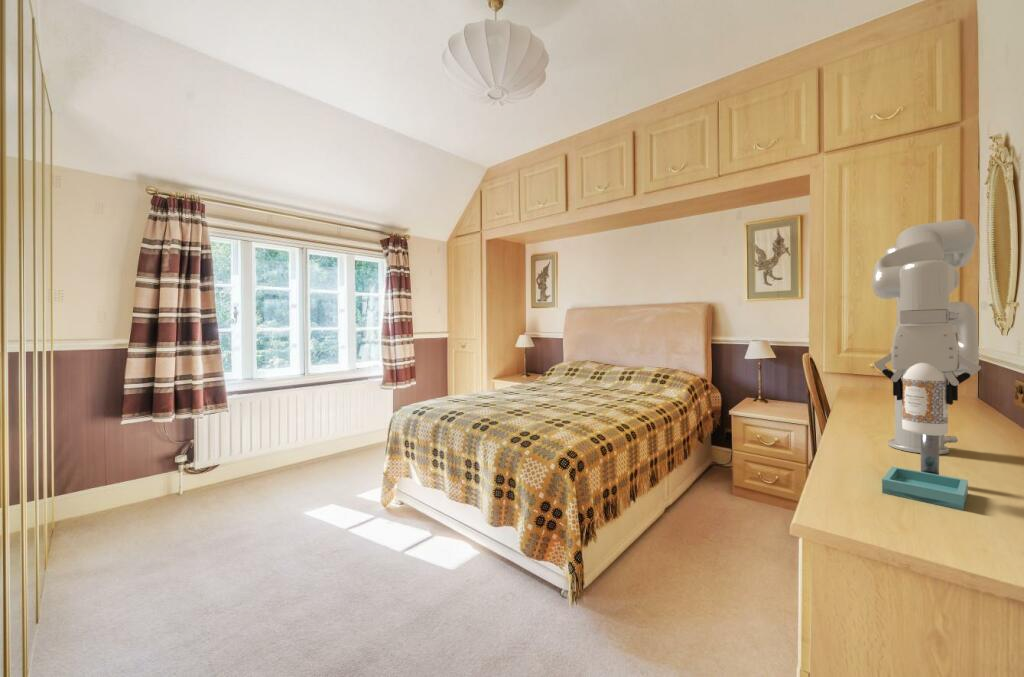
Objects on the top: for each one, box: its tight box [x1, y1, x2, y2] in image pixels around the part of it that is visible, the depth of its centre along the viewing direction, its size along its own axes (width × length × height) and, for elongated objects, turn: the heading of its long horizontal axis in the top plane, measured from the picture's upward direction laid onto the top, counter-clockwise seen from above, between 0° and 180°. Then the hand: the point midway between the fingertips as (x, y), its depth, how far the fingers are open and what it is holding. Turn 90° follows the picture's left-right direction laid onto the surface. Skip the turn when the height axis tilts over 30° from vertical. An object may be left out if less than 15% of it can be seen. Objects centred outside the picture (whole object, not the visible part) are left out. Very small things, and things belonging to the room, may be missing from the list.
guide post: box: [920, 434, 940, 475], centre depth 95 cm, size 5×5×12 cm
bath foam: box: [902, 363, 949, 436], centre depth 88 cm, size 7×7×20 cm
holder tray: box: [881, 466, 969, 512], centre depth 89 cm, size 12×12×3 cm
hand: (924, 400), depth 88 cm, fingers closed on bath foam, 7 cm apart
